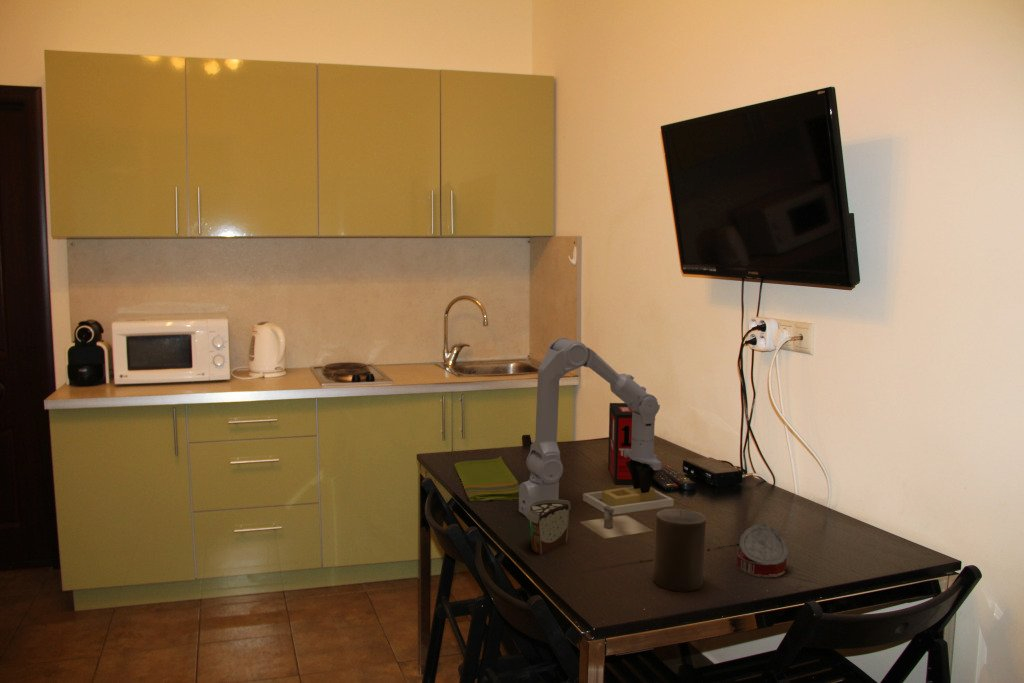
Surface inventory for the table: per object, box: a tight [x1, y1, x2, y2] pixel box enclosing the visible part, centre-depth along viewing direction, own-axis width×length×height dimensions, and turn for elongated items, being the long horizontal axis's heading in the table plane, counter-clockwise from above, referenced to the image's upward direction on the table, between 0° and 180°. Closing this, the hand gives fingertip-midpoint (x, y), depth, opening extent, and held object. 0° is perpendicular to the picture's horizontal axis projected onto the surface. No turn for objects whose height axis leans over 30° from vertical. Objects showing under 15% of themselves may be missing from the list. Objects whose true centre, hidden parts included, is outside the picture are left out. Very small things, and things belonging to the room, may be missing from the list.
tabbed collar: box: [601, 487, 656, 507], centre depth 214 cm, size 13×7×3 cm, turn 114°
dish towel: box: [453, 455, 520, 502], centre depth 234 cm, size 15×36×3 cm, turn 11°
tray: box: [582, 486, 675, 516], centre depth 214 cm, size 19×13×2 cm
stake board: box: [579, 505, 654, 540], centre depth 196 cm, size 13×12×6 cm
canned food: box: [736, 523, 789, 575], centre depth 173 cm, size 11×10×10 cm
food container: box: [525, 499, 572, 555], centre depth 183 cm, size 12×6×10 cm, turn 141°
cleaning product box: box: [607, 402, 633, 486], centre depth 239 cm, size 16×9×20 cm, turn 0°
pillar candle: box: [653, 508, 707, 593], centre depth 166 cm, size 10×10×15 cm
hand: (641, 490), depth 215 cm, fingers open, 3 cm apart
